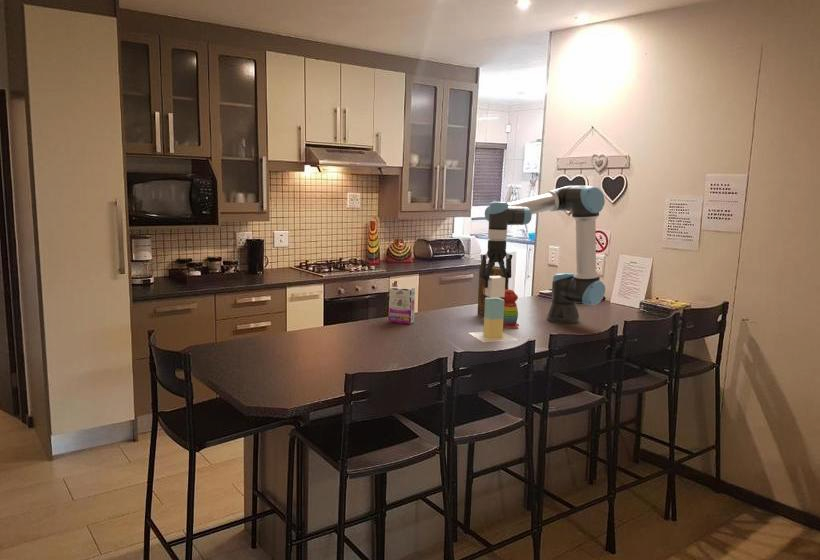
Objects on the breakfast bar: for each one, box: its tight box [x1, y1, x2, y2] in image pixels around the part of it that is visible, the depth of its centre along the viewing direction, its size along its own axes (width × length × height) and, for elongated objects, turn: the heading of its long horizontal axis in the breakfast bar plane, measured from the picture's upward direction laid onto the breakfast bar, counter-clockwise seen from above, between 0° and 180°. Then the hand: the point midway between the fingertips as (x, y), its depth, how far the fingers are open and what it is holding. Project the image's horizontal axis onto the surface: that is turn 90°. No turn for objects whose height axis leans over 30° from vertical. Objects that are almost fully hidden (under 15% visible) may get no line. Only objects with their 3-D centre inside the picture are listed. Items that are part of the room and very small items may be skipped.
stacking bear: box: [502, 288, 520, 330], centre depth 273 cm, size 11×10×18 cm
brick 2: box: [483, 297, 504, 320], centre depth 253 cm, size 6×6×8 cm
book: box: [476, 264, 510, 318], centre depth 294 cm, size 16×6×25 cm, turn 34°
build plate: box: [468, 331, 519, 343], centre depth 255 cm, size 16×16×1 cm
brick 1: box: [486, 276, 505, 298], centre depth 251 cm, size 6×6×8 cm
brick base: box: [483, 317, 504, 339], centre depth 254 cm, size 6×6×8 cm
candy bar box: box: [388, 286, 416, 325], centre depth 280 cm, size 11×5×16 cm, turn 68°
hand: (494, 295), depth 252 cm, fingers closed on brick 1, 6 cm apart
